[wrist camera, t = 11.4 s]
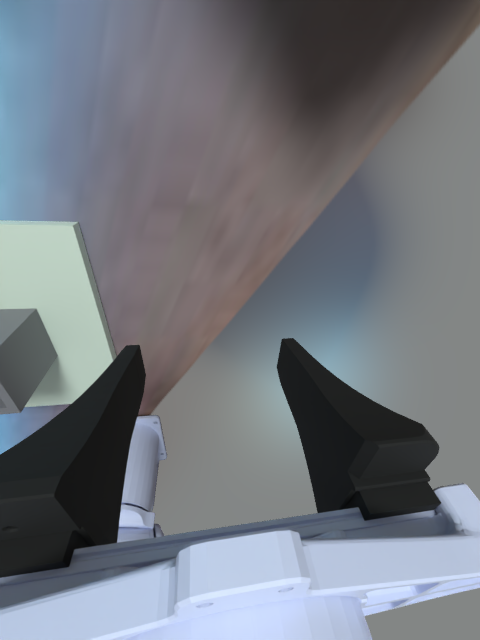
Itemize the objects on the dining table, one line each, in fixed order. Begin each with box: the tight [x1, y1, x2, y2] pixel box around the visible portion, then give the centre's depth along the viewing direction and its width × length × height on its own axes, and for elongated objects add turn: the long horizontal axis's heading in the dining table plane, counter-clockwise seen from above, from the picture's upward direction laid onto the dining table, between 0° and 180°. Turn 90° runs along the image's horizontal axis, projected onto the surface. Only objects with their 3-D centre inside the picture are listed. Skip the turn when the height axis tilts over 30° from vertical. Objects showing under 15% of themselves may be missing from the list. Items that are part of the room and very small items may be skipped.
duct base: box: [0, 220, 117, 407], centre depth 21 cm, size 18×14×4 cm
